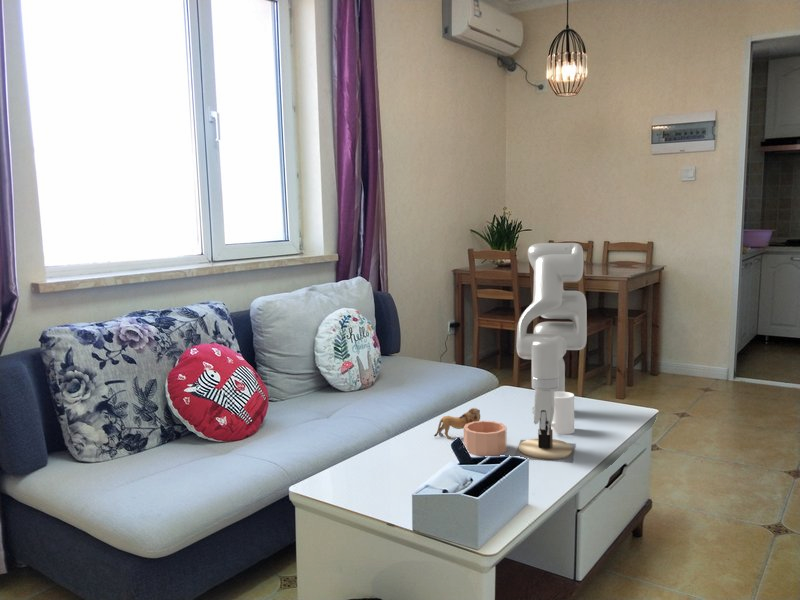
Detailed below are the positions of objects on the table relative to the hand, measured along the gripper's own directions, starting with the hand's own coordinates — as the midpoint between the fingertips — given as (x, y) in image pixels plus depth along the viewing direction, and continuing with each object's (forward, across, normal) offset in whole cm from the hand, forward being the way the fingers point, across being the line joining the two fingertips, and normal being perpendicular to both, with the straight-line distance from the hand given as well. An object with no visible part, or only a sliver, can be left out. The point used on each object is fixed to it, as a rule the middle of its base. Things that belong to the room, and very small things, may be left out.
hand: (545, 444), depth 193 cm
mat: (+2, 0, 0) cm, 2 cm away
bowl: (+2, +2, -17) cm, 17 cm away
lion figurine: (+3, -9, -27) cm, 29 cm away
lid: (+2, 0, 0) cm, 2 cm away
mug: (+3, -19, +2) cm, 19 cm away
